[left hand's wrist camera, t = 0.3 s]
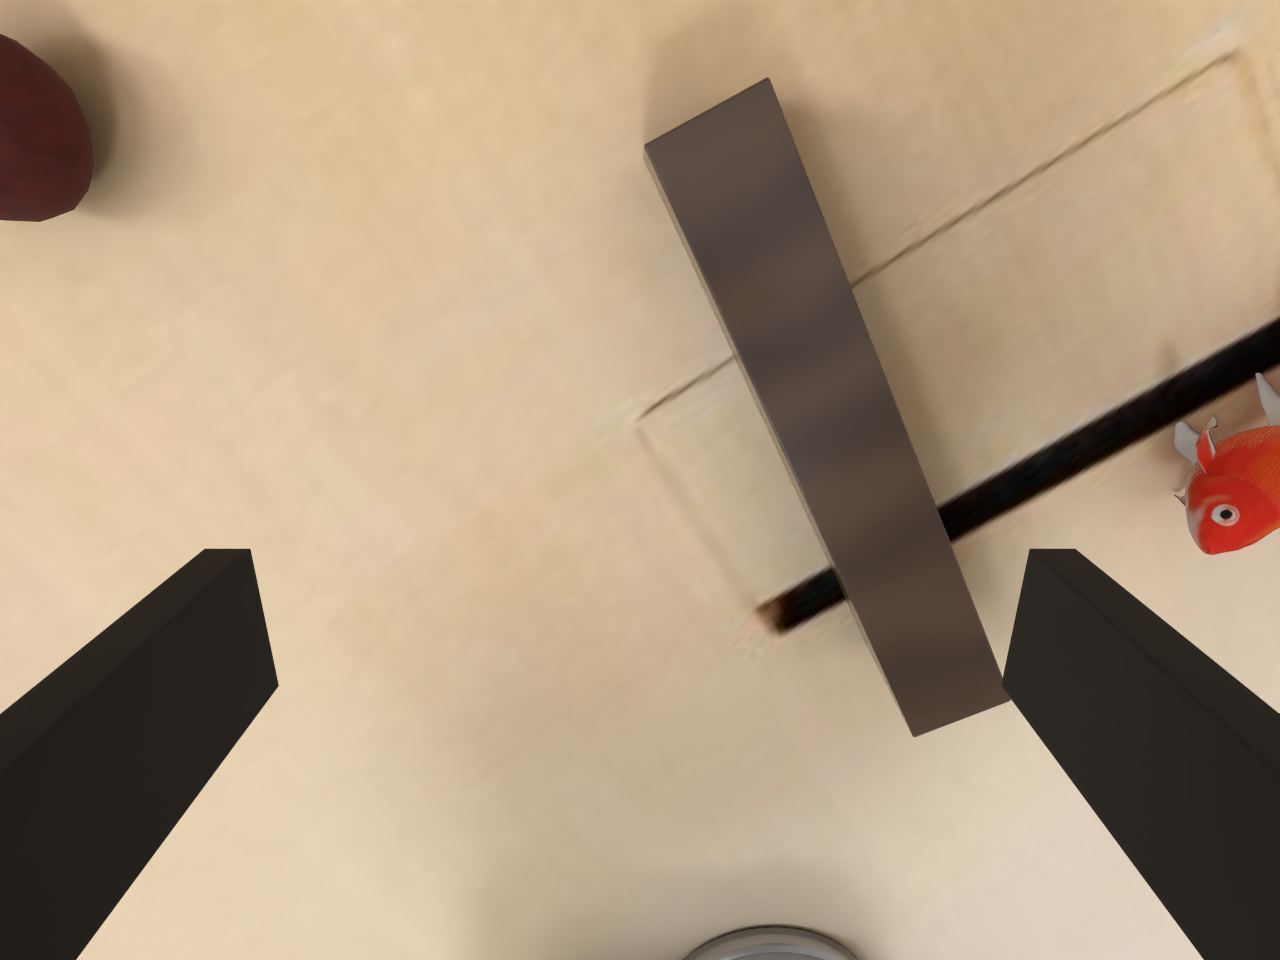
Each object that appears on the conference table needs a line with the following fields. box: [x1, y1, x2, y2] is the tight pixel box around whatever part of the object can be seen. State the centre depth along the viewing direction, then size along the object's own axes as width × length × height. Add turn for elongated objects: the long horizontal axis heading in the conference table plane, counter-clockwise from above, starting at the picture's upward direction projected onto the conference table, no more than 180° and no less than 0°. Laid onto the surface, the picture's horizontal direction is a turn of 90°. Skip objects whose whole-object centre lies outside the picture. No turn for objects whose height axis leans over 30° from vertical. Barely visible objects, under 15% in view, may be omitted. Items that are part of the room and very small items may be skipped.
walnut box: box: [643, 78, 1011, 737], centre depth 35 cm, size 30×5×8 cm, turn 27°
